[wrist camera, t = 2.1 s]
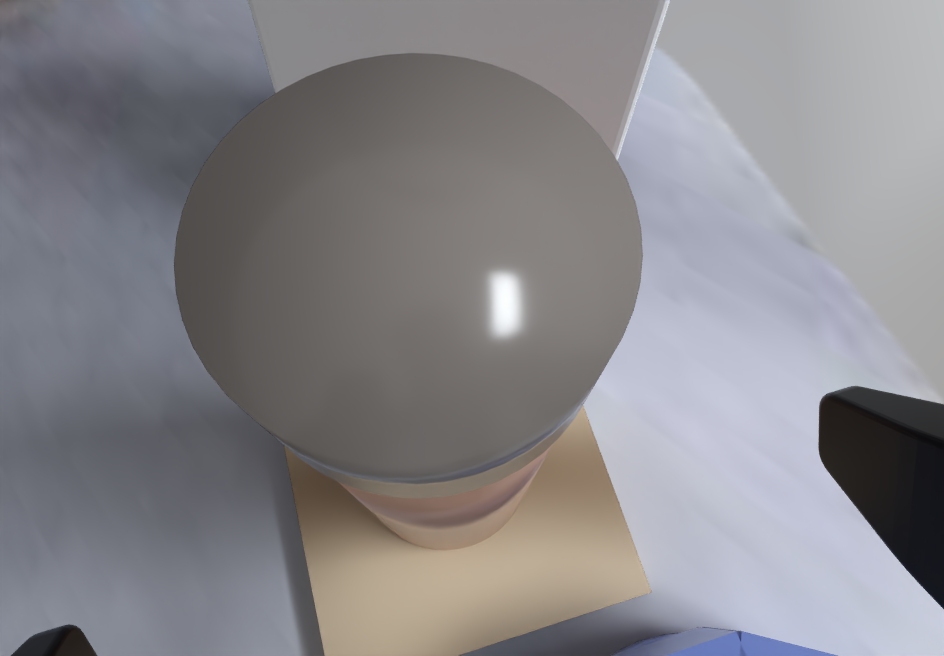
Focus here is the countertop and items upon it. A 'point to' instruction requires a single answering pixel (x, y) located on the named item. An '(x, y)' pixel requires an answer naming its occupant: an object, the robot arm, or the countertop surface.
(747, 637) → the bowl
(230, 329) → the spice jar
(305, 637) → the countertop surface
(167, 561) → the countertop surface
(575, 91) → the milk carton
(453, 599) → the cork mat
